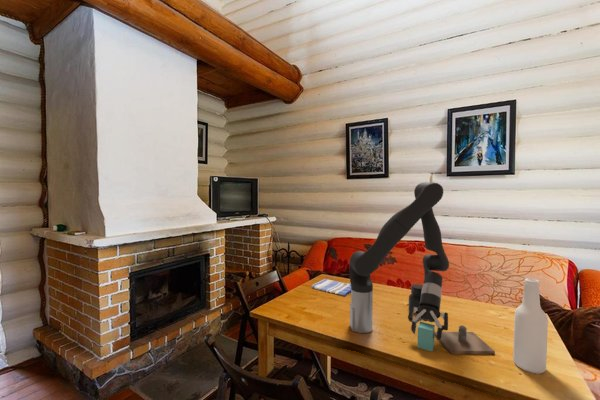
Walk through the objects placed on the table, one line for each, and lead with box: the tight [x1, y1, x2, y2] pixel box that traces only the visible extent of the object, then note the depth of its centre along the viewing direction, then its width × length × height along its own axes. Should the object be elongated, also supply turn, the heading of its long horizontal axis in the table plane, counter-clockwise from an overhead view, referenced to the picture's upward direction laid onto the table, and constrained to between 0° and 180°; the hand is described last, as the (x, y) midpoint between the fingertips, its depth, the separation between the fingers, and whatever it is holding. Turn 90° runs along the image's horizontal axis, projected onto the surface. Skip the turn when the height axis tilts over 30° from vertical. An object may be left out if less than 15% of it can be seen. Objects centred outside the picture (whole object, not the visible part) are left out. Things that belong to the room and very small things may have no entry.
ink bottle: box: [408, 283, 423, 314], centre depth 143 cm, size 10×9×12 cm
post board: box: [435, 325, 496, 355], centre depth 112 cm, size 16×14×7 cm
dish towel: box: [311, 278, 351, 297], centre depth 174 cm, size 17×24×3 cm
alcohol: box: [512, 277, 549, 375], centre depth 97 cm, size 9×9×30 cm
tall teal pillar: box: [417, 321, 436, 352], centre depth 110 cm, size 5×5×8 cm
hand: (425, 336), depth 109 cm, fingers open, 8 cm apart
